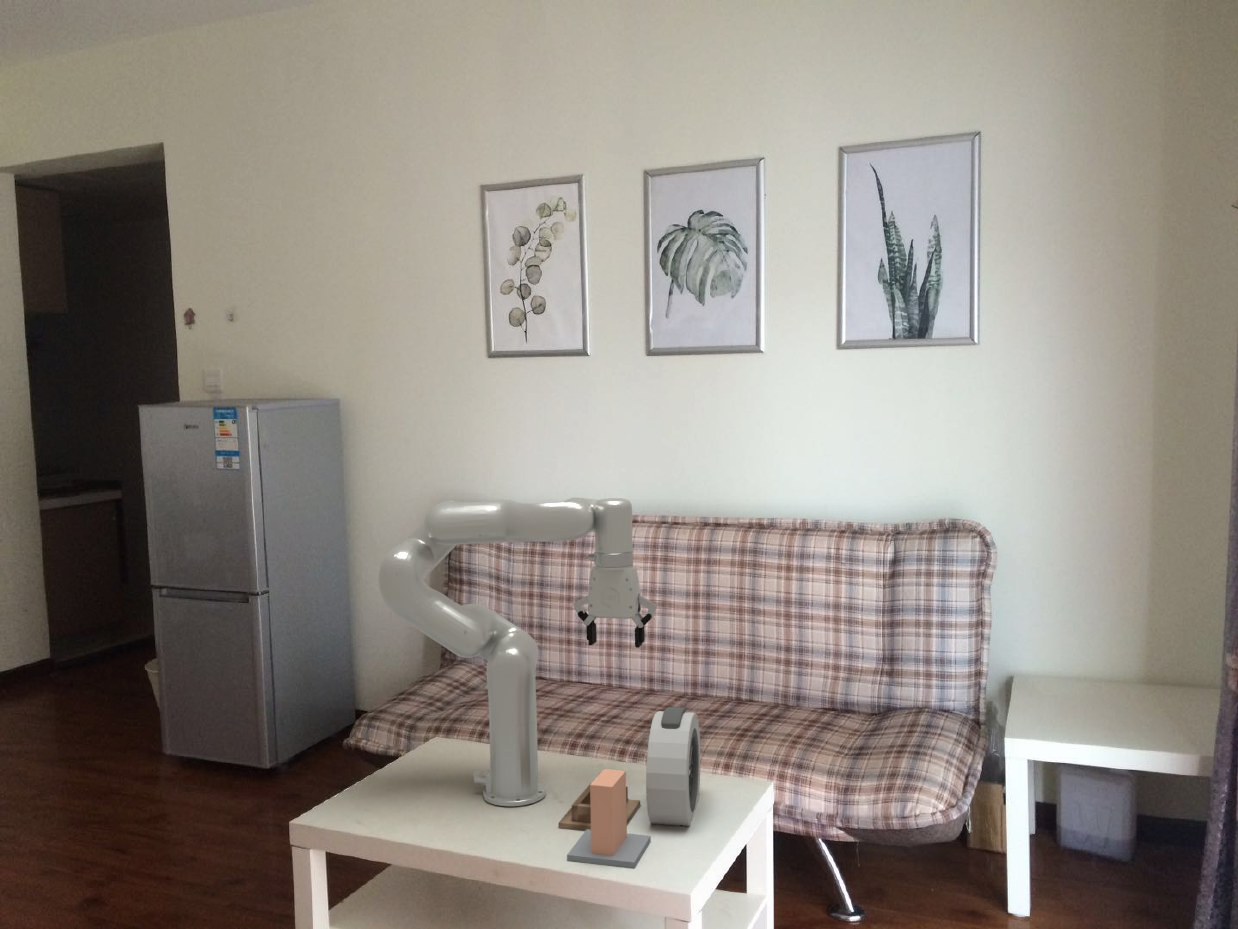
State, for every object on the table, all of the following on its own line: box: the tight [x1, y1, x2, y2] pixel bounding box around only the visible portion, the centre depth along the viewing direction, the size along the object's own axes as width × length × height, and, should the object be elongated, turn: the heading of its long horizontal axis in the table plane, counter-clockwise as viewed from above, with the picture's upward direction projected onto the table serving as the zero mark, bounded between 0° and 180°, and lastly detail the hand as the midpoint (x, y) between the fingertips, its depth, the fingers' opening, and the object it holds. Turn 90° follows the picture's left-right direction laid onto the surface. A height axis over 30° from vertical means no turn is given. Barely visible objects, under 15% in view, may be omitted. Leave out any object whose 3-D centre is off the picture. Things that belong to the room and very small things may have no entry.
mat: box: [566, 829, 652, 869], centre depth 174 cm, size 12×11×1 cm
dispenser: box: [558, 782, 641, 832], centre depth 189 cm, size 12×14×5 cm
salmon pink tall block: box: [589, 768, 628, 856], centre depth 174 cm, size 4×8×12 cm, turn 163°
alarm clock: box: [645, 706, 701, 827], centre depth 191 cm, size 21×8×20 cm, turn 168°
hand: (615, 645), depth 199 cm, fingers open, 9 cm apart
